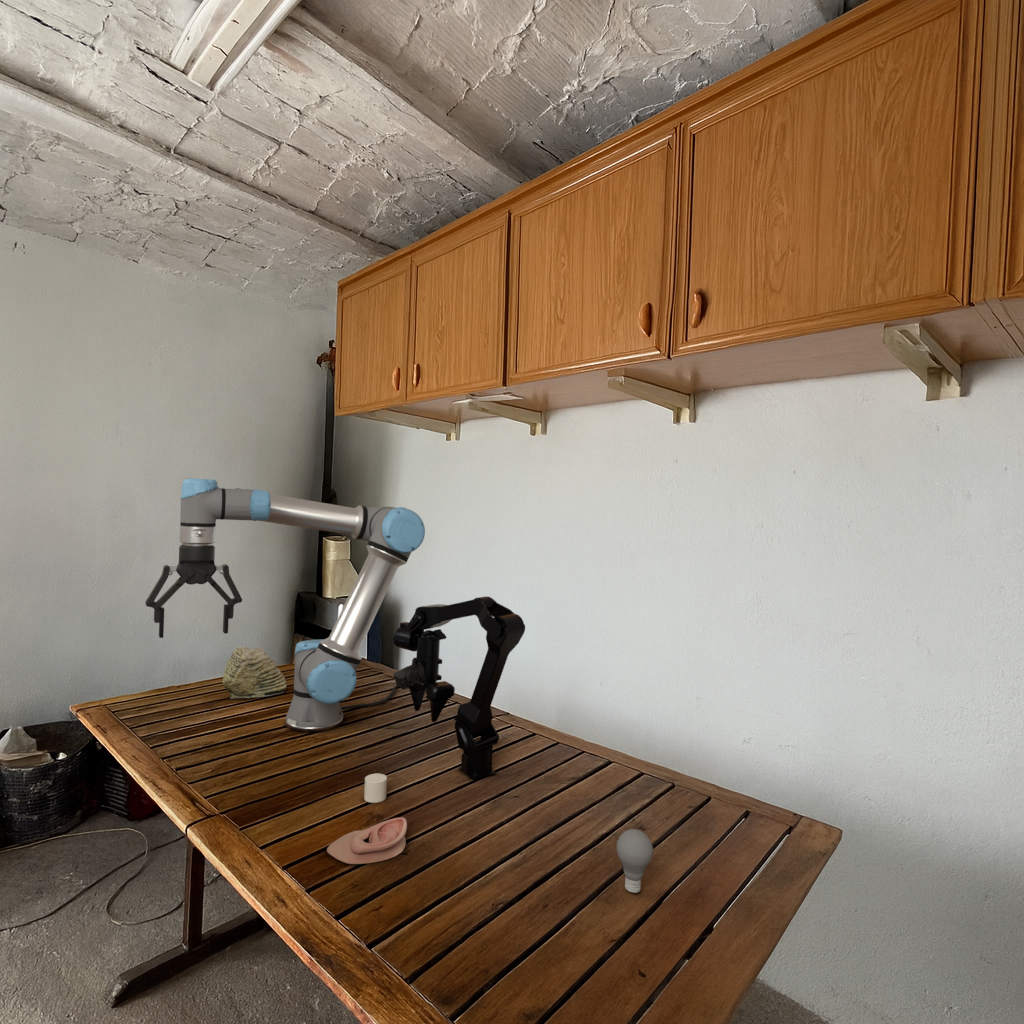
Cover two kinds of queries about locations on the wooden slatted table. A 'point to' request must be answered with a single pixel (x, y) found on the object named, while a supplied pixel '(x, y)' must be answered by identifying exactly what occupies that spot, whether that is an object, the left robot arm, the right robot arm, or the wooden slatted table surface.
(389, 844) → the anatomical model
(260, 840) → the wooden slatted table surface
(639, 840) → the light bulb
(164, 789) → the wooden slatted table surface
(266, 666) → the fossil
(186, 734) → the wooden slatted table surface
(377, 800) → the can
